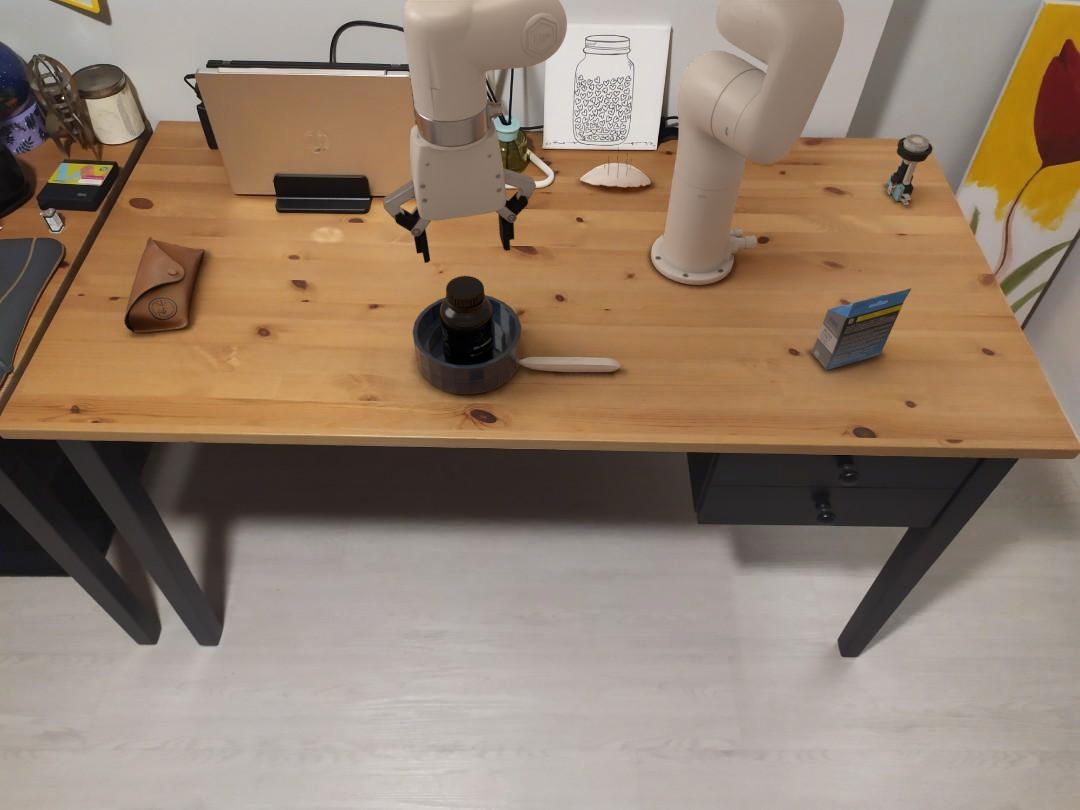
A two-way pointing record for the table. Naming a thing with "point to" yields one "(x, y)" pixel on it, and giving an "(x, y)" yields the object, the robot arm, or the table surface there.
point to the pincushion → (616, 175)
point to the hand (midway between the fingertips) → (465, 249)
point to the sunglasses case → (162, 288)
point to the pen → (571, 364)
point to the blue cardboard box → (857, 330)
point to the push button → (908, 165)
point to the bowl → (468, 376)
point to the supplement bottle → (467, 322)
